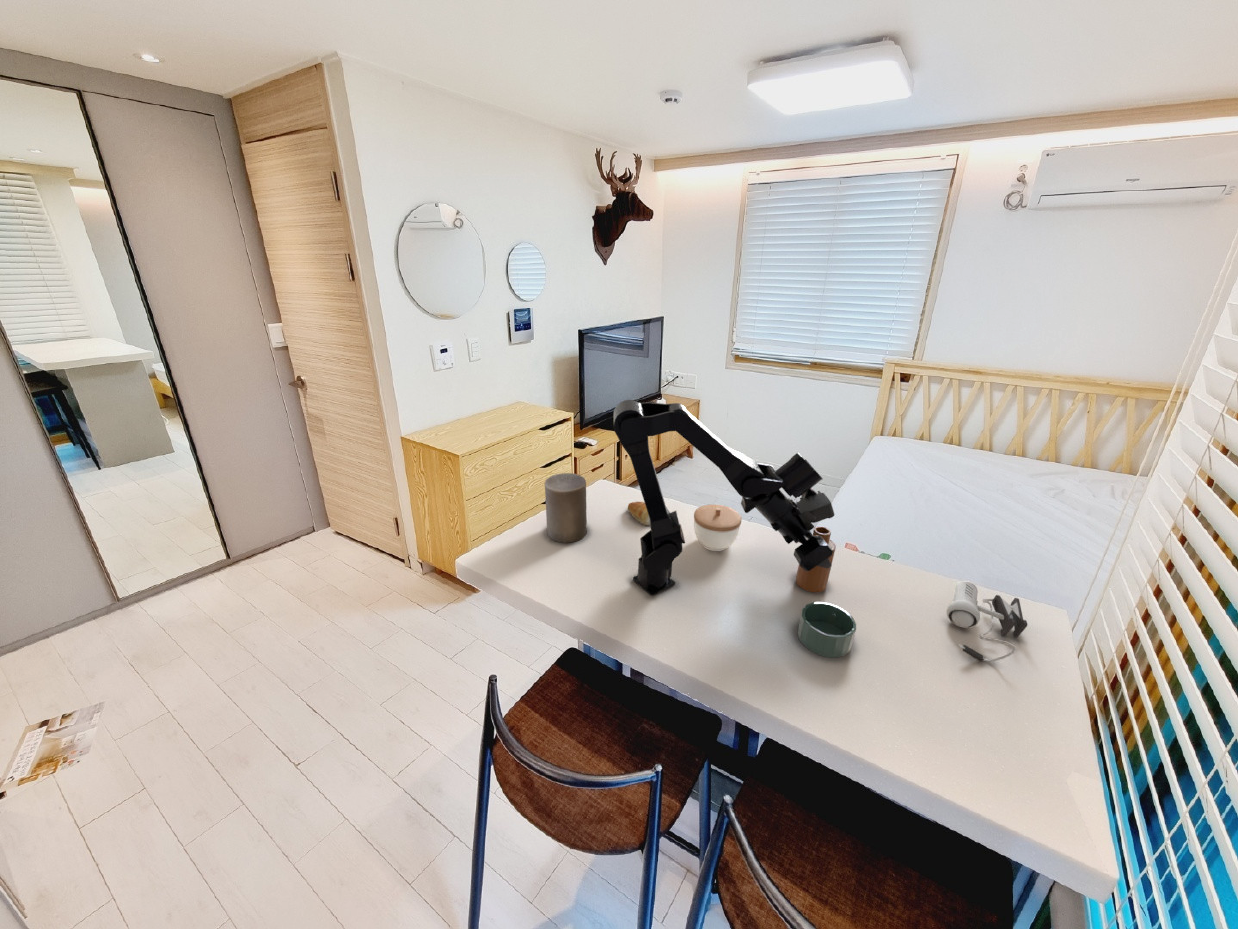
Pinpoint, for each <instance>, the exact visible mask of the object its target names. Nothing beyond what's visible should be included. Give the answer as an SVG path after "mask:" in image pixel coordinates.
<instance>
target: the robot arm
mask: <svg viewBox="0 0 1238 929" xmlns="http://www.w3.org/2000/svg"><path fill="white" fill-rule="evenodd" d="M613 431H614V433H615V435H616V437H617V439H618V441H619V442H620V444H621V447H622V448H623V449H624V451H625V452H626V454H627V455H628V456H629V458H630V461H631V464H632V467H633V470H634V473H635V477H636V479H637V482H638V486H639V490H640V492H641V496H642V499H643V502H644V503H645V505H646V508H647V512H648V515H649V518H650V525H649V526H650V530H648V531H647V532H646V533H645V534H643V535H642V536H641V537H640V539H639V540H640V549H641V557H639V558H638V564H637V566H638V567H637V575H635V576H633V577H632V581H633V582H634V583H636V584H637V585H638V586H639V587H640V588H642V589H643V590H644V591H645V592H647V593H648V594H649V596H655V595H657V594H659V593H661V592H663V591H665V590H667V589H670V588H671V587H673V586H675V585H676V581H675V580H674V579H672V572H673V562H674V561H675V559H676V558H678V557H679V556H680V555H681V553H682V552H683V549H684V548H683V547H684V546H683V544H686V540H685V536H684V532H683V528H682V524H681V523H680V518H679V515H678V512H677V510H673V511H670V510H669V509H668V507H667V505H666V501H665V498H664V496H663V495H664V494H663V491H662V488H661V484H660V481H659V478H658V475H657V471H656V468H655V464H654V462H653V458H652V455H651V451H650V446H649V437H655V436H658V435H662V434H665V433H670V432H676V433H677V434H679V435H680V436H681V437H682V438H683V439H684V440H685V441H687V442H688V443H689V444H690V445H691V446H692V447H694V448H695V449H696V450H697V451H698V452H700V453H701V454H702V455H703V456H704V457H706V458H707V459H708V460H709V461H710V462H711V463H713V464H714V465H715V466H716V467H717V468H718V469H719V470H720V472H721V473H722V474H723V475H724V477H725V478H726V480H727V481H728V482H729V483H730V485H731V486H732V487H733V489H734V490H735V491H736V493H737V494H738V495H739V496H741V501H740V506H741V508H742V509H743V511H744V513H745V514H749V513H750V512H751V511H752V510H754V509H756V510H757V511H758V513H760V514H761V516H763V517H764V518H765V519H766V521H768V522H769V524H770V526H771V527H772V529H773V530H774V531H775V532H778V533H779V534H780V535H781V536H782V538H783V540H784V541H785V542H786V543H787V544H788V545H790V544H791V543H792V542H794V543H795V544H799V543H800V545H799V546H797V547H795V549H794V552H793V556H794V558H795V560H796V562H797V563H798V566H799V565H800V566H801V567H802V568H803V569H804V570H805V571H810V570H811V569H813V568H814V567H816V566H819V567H823V568H827V569H828V568H830V567H831V568H832V564H833V563H832V564H831V563H830V561H829V559H828V558H829V557H830V556H831V555H832V554H833V551H832V549H831V548H830V546H829V545H828V544H827V542H826V541H825V540H824V538H822V537H821V536H812V535H813V532H811V531H812V530H814V528H815V525H814V524H815V523H818V522H821V521H825V520H826V519H832V518H834V517H835V511H834V508H833V504H832V501H831V499H829V497H828V496H827V495H826V493H824V492H821V491H820V490H817V491H815V489H814V488H813V487H815V486H817V484H819V483H820V482H821V481H823V480H824V478H823V477H822V476H821V475H820V474H819V473H818V471H817V470H816V469H815V467H813V466H812V465H811V463H810V462H809V461H808V460H807V459H805V458H804V457H803V456H802V455H801V454H800V453H799V452H796V453H795V454H794V455H793V456H791V458H789V460H788V461H786V462H785V463H784V464H782V465H781V466H780V467H779V468H777V469H776V468H775V467H774V466H773V465H772V464H766V463H761V462H756V461H755V459H752V458H751V457H749V456H747V455H745V454H744V453H742V452H740V451H737V450H734V449H733V448H731V447H729V446H728V445H727V444H726V443H724V441H722V440H721V439H720V438H719V437H718V436H716V434H714V433H713V432H712V431H711V430H710V429H709V428H707V427H706V426H705V425H704V424H703V423H702V422H701V421H700V420H699V419H697V418H696V417H695V416H694V415H693V414H692V413H691V412H690V411H689V410H688V409H687V408H686V407H685V406H684V405H683V404H682V403H677V402H675V403H674V402H673V403H660V402H651V401H646V402H638V401H637V400H634V399H625V400H622V401H620V402H618V404H617V405H616V406H615V408H614V409H613ZM781 489H782V490H783V491H784V492H785V493H786V494H787V496H789V497H787V496H786V495H785V494H784V493H783V491H781ZM792 496H793V498H790V497H792ZM797 498H799V501H797V500H796V499H797ZM806 537H807V538H808V540H807V538H806Z"/></svg>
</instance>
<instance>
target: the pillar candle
mask: <svg viewBox="0 0 1238 929" xmlns="http://www.w3.org/2000/svg"><path fill="white" fill-rule="evenodd" d="M544 494H545V495H544V496H545V517H546V532H547V537H548V538H549V539H551V540H552V541H554V542H556V543H557V542H558V543H566V544H568V543H574V542H578V541H580V540H582V539H583V538H585V537H586V536H587V534H588V529H587V524H588V520H587V517H588V516H587V480H586V478H585V477H584V476H582V475H580V474H577V473H573V472H572V473H571V472H563V473H555V474H552V475H550V476H549V477H547V478H546V479H545V481H544Z"/></svg>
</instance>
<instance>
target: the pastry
mask: <svg viewBox="0 0 1238 929" xmlns="http://www.w3.org/2000/svg"><path fill="white" fill-rule="evenodd" d="M627 511H628V512H629V513H630V514H631V516H632V518H633V519H634V520H635V521H637V522H639V524H641V525H643V526H650V518H649V515H648V512H647V508H646V505H645V502H644V501H632V502H630V503H629V502H628V505H627Z"/></svg>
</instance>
